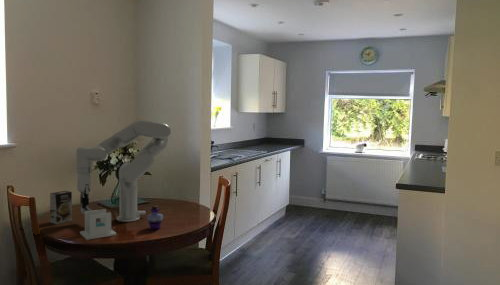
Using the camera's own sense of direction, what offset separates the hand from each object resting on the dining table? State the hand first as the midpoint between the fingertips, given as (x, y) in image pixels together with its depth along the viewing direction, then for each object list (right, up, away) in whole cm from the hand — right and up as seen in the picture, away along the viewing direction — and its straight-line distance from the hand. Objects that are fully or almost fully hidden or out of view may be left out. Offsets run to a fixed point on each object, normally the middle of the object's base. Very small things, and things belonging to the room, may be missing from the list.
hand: (84, 203), depth 218 cm
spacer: (+13, -9, -18) cm, 24 cm away
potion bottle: (+40, -12, -8) cm, 42 cm away
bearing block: (+14, -12, -19) cm, 27 cm away
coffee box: (-13, -10, +2) cm, 17 cm away
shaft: (+5, -5, -7) cm, 10 cm away
